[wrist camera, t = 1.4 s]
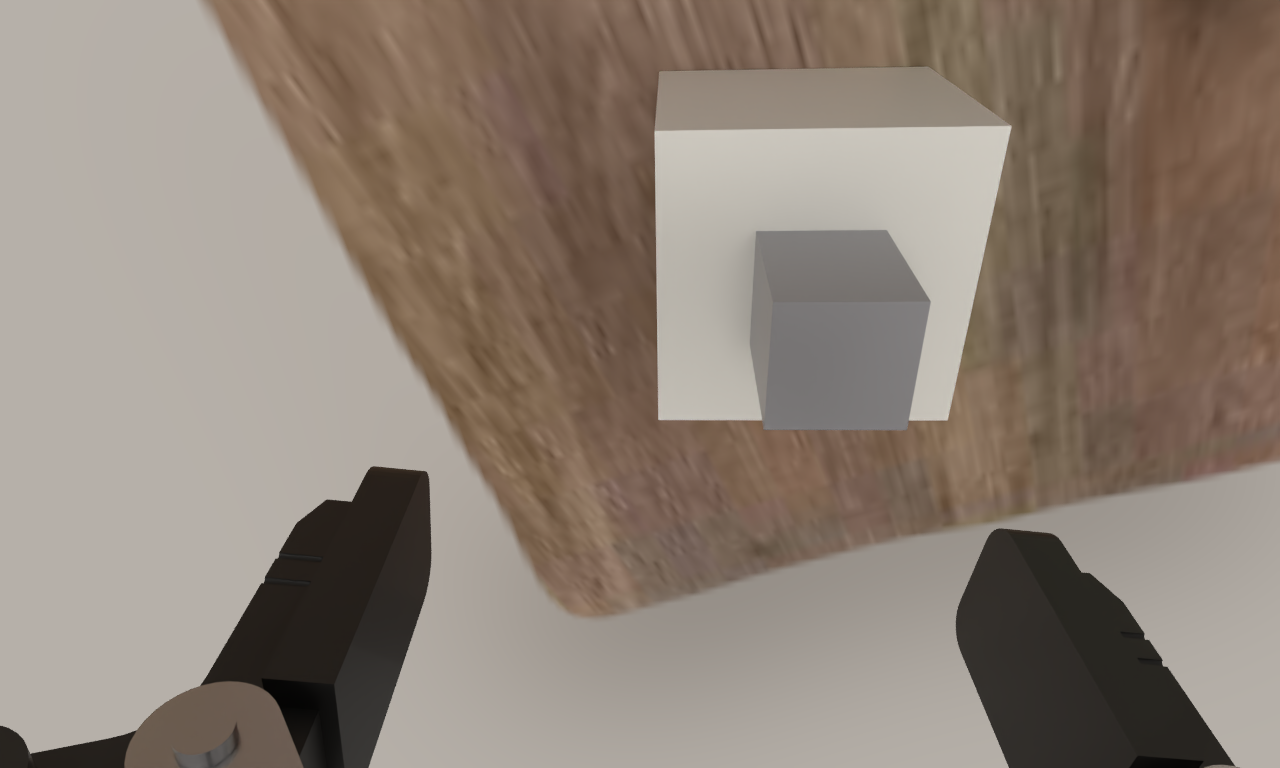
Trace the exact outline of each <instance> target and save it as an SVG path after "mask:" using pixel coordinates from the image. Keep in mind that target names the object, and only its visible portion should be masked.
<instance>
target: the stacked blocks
mask: <svg viewBox="0 0 1280 768" xmlns="http://www.w3.org/2000/svg"><path fill="white" fill-rule="evenodd" d="M1010 131H1011V125H1010V124H1008V123H1007V122H1006V121H1004V120H1003V119H1001V118H1000V117H999V116H997V115H996V114H994V113H993V112H992V111H990V110H989V109H987V108H986V107H985V106H983V105H982V104H980V103H979V102H978V101H976V100H975V99H973V98H972V97H971V96H969V95H968V94H966V93H965V92H964V91H962V90H961V89H959V88H958V87H957V86H955V85H954V84H952V83H951V82H950V81H948V80H947V79H945V78H944V77H943V76H941V75H940V74H938V73H937V72H936V71H934V70H933V69H931V68H930V67H875V68H816V69H758V70H700V71H659V81H658V94H657V107H656V120H655V196H656V272H657V349H658V420H762V422H763V428H764V430H907V427H908V421H909V420H948V416H949V411H950V407H951V402H952V398H953V393H954V389H955V384H956V379H957V375H958V370H959V366H960V361H961V356H962V352H963V347H964V343H965V338H966V333H967V329H968V324H969V320H970V315H971V310H972V306H973V301H974V297H975V292H976V287H977V283H978V278H979V274H980V269H981V264H982V260H983V255H984V251H985V246H986V241H987V237H988V232H989V228H990V223H991V218H992V214H993V209H994V205H995V200H996V195H997V191H998V186H999V182H1000V177H1001V172H1002V168H1003V163H1004V159H1005V154H1006V149H1007V145H1008V140H1009V136H1010Z"/></svg>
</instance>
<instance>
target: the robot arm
mask: <svg viewBox="0 0 1280 768" xmlns="http://www.w3.org/2000/svg"><path fill="white" fill-rule="evenodd" d="M430 526H431V524H430V489H429V477H428V474H427V472H425V471H416V470H406V469H395V468H385V467H371V468H370V469H369V470H368V472H367V473H366V475H365V477H364V479H363V481H362V483H361V485H360V487H359V489H358V491H357V493H356V495H355V497H354V499H353V501H352V502H348V501H337V500H326V501H324V502H323V503H322V504H321V505H319V506H318V507H317V508H315V509H314V510H313V511H312V512H310V513H309V514H308V515H307V516H305V517H304V518H303V519H301V520H300V521H299V522H297V524H296V525H295V527H294V529H293V530H292V532H291V534H290V535H289V537H288V539H287V540H286V542H285V544H284V546H283V547H282V549H281V551H280V552H279V558H278V559H275V561H274V563H273V564H272V566H271V568H270V569H269V571H268V573H267V575H266V576H265V582H264V584H263V583H262V584H261V585H260V586H259V588H258V590H257V592H256V594H255V595H254V597H253V598H252V600H251V602H250V603H249V605H248V607H247V609H246V610H245V612H244V614H243V616H242V617H241V619H240V621H239V622H238V624H237V626H236V627H235V630H234V631H233V633H232V634H231V636H230V638H229V639H228V641H227V643H226V644H225V646H224V648H223V650H222V651H221V653H220V655H219V657H218V658H217V660H216V662H215V663H214V665H213V667H212V668H211V670H210V672H209V673H208V675H207V677H206V678H205V680H204V681H203V683H202V684H201V686H199V687H196V688H193V689H190V690H189V691H186V692H184V693H182V694H180V695H177V696H176V697H174V698H172V699H171V700H169V701H167V702H166V703H164V704H163V705H162V706H160V707H159V708H158V709H156V710H155V711H154V712H153V713H152V714H151V715H150V716H149V717H148V718H147V719H146V720H145V721H144V722H143V723H142V725H141V726H140V727H139V728H138V730H136V731H134V732H131V733H128V734H125V735H121V736H117V737H113V738H109V739H104V740H99V741H94V742H89V743H84V744H78V745H73V746H68V747H63V748H58V749H53V750H48V751H42V752H37V753H32V754H30V752H29V750H28V748H27V746H26V744H25V742H24V740H23V739H22V738H21V737H20V736H19V735H18V734H17V733H16V732H14V731H13V730H11V729H9V728H6V727H3V726H0V768H368V767H369V764H370V761H371V758H372V755H373V752H374V749H375V746H376V743H377V740H378V737H379V734H380V731H381V728H382V725H383V722H384V719H385V716H386V713H387V710H388V707H389V704H390V701H391V698H392V695H393V692H394V689H395V686H396V683H397V680H398V677H399V674H400V671H401V668H402V665H403V662H404V659H405V656H406V653H407V650H408V647H409V644H410V641H411V638H412V635H413V632H414V629H415V626H416V623H417V620H418V617H419V614H420V611H421V608H422V605H423V602H424V599H425V596H426V592H427V587H428V582H429V576H430V568H431V527H430ZM956 635H957V641H958V645H959V648H960V651H961V653H962V656H963V658H964V660H965V663H966V666H967V668H968V670H969V673H970V675H971V678H972V680H973V682H974V685H975V687H976V689H977V692H978V694H979V697H980V699H981V702H982V704H983V706H984V709H985V711H986V713H987V716H988V718H989V721H990V723H991V725H992V728H993V730H994V733H995V735H996V737H997V740H998V742H999V745H1000V747H1001V749H1002V752H1003V754H1004V757H1005V759H1006V761H1007V764H1008V766H1009V768H1238V767H1235V765H1234V764H1233V762H1232V761H1231V759H1230V758H1229V757H1228V755H1227V754H1226V752H1225V751H1224V749H1223V748H1222V746H1221V745H1220V743H1219V742H1218V740H1217V739H1216V738H1215V736H1214V735H1213V733H1212V732H1211V730H1210V729H1209V727H1208V726H1207V725H1206V723H1205V722H1204V720H1203V718H1202V717H1201V716H1200V714H1199V713H1198V711H1197V710H1196V708H1195V707H1194V705H1193V704H1192V702H1191V701H1190V699H1189V698H1188V697H1187V695H1186V694H1185V692H1184V691H1183V689H1182V688H1181V686H1180V685H1179V683H1178V682H1177V681H1176V679H1175V677H1174V676H1173V675H1172V673H1171V672H1170V671H1169V669H1168V667H1163V665H1162V658H1161V657H1160V656H1159V654H1158V653H1157V651H1156V650H1155V649H1154V647H1153V645H1152V644H1151V642H1150V641H1149V640H1145V639H1144V632H1143V631H1142V629H1141V628H1140V626H1139V625H1138V623H1137V622H1136V620H1135V619H1134V618H1133V616H1132V615H1131V613H1130V612H1129V610H1128V609H1127V607H1126V606H1125V604H1124V603H1123V602H1122V601H1121V600H1120V599H1119V598H1118V597H1117V596H1115V595H1114V594H1113V593H1112V592H1111V591H1110V590H1109V589H1107V588H1106V587H1105V586H1104V585H1103V584H1102V583H1100V582H1099V581H1098V580H1097V579H1096V578H1095V577H1094V576H1092V575H1091V574H1090V573H1081V571H1080V570H1079V568H1078V567H1077V565H1076V564H1075V562H1074V561H1073V559H1072V557H1071V556H1070V554H1069V553H1068V551H1067V550H1066V548H1065V547H1064V545H1063V544H1062V542H1061V541H1060V540H1059V538H1058V537H1056V536H1055V535H1053V534H1050V533H1042V532H1031V531H1021V530H1010V529H996V530H994V531H993V532H992V533H991V534H990V535H989V537H988V539H987V541H986V543H985V545H984V548H983V550H982V552H981V554H980V557H979V559H978V561H977V564H976V566H975V569H974V571H973V573H972V575H971V578H970V580H969V582H968V585H967V587H966V589H965V592H964V594H963V596H962V599H961V601H960V604H959V606H958V610H957V616H956Z"/></svg>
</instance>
